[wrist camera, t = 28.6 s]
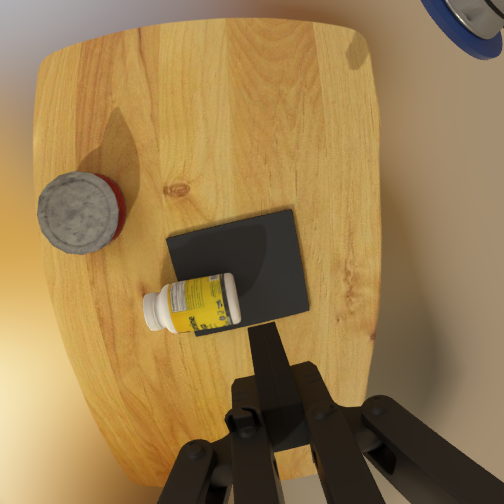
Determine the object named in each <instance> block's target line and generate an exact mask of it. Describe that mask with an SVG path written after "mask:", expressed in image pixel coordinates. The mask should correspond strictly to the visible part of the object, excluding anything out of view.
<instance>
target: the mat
mask: <svg viewBox="0 0 504 504" xmlns="http://www.w3.org/2000/svg"><path fill="white" fill-rule="evenodd" d="M166 241H167V245H168V249H169V252H170V256H171V259H172V263H173V266H174V270H175V273H176V276H177V280H178V282H180V281H185V280H191V279H196V278H202V277H207V276H213V275H218V274H224V273H231V274H232V275H233V278H234V282H235V286H236V291H237V296H238V302H239V307H240V313H241V321H240V322H239V323H237V324H233V325H228V326H222V327H216V328H210V329H203V330H198V331H194V332H195V335H196V337H197V336H202V335H207V334H212V333H217V332H222V331H226V330H231V329H236V328H240V327H245V326H249V325H253V324H258V323H262V322H266V321H270V320H274V319H278V318H283V317H287V316H290V315H294V314H298V313H302V312H306V311H309V303H308V297H307V291H306V285H305V279H304V273H303V267H302V262H301V256H300V250H299V245H298V239H297V234H296V229H295V223H294V218H293V213H292V210H291V209H289V210H284V211H280V212H275V213H271V214H266V215H262V216H257V217H253V218H248V219H244V220H240V221H235V222H231V223H227V224H223V225H218V226H214V227H210V228H206V229H202V230H198V231H193V232H189V233H185V234H181V235H177V236H173V237H169V238H167V239H166Z"/></svg>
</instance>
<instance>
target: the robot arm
mask: <svg viewBox="0 0 504 504" xmlns="http://www.w3.org/2000/svg"><path fill="white" fill-rule="evenodd" d="M442 1H443V3H444V4H445V6H446V7H447V9H448V10H449V12H450V13H451V14H452V16H453V17H454V18H455V19H456V20H457V21H458V23H459V24H460V25H461V26H462V27H463V28H464V29H466V30H467V31H468V32H469V33H470V34H472V35H473V36H475V37H476V38H478V39H481V40H488V39H491V38H493V37H494V36H496V34H497V33H498V32H499V31H500V29H502V27H503V28H504V0H442ZM248 334H249V341H250V347H251V354H252V360H253V367H254V373H255V375H253V376H248V377H243V378H239V379H235V381H234V383H233V384H232V386H231V392H232V409H231V410H229V411H228V413H227V414H226V415H225V419H224V420H225V423H226V425H227V427H228V429H229V432H230V433H229V434H228V435H226V436H225V437H224V438H222V439H220V440H218V441H215V442H212V443H210V442H208V441H207V440H202V439H197V440H192V441H190V442H188V443H186V444H185V445H183V447H182V448H181V450H180V452H179V454H178V456H177V459H176V461H175V463H174V466H173V468H172V470H171V472H170V475H169V477H168V479H167V482H166V484H165V486H164V489H163V491H162V493H161V495H160V498H159V500H158V502H157V504H228V500H229V496H230V492H231V488H232V484H233V489H234V504H285V501H284V496H283V491H282V487H281V482H280V477H279V472H278V467H277V462H276V459H275V456H274V452H279V451H283V450H288V449H292V448H296V447H300V446H304V445H308V444H309V443H310V447H311V452H312V459H313V463H315V466H316V469H317V472H318V475H319V478H320V481H321V485H322V488H323V491H324V494H325V497H326V500H327V504H386V503H385V501H384V499H383V497H382V495H381V493H380V491H379V489H378V486H377V484H376V482H375V480H374V478H373V476H372V474H371V472H370V469H369V467H368V465H367V463H366V461H365V459H364V457H363V455H364V456H365V457H366V458H367V459H368V460H369V461H370V462H371V463H372V464H373V465H374V466H375V468H376V469H377V470H378V471H379V472H380V473H381V474H382V475H383V476H384V477H385V478H386V479H387V480H388V481H389V482H390V483H391V484H392V485H393V486H394V487H395V488H396V489H397V490H398V491H399V492H400V493H401V494H402V495H403V496H404V497H405V498H406V499H407V500H408V501H409V502H410V503H411V504H504V483H503V482H502V481H501V480H499V479H498V478H496V477H495V476H494V475H492V474H491V473H490V472H488V471H487V470H485V469H484V468H483V467H481V466H480V465H478V464H477V463H476V462H474V461H473V460H472V459H470V458H469V457H468V456H466V455H465V454H464V453H462V452H461V451H460V450H458V449H457V448H456V447H454V446H453V445H451V444H450V443H449V442H448V441H446V440H445V439H444V438H442V437H441V436H440V435H438V434H437V433H436V432H434V431H433V430H432V429H431V428H429V427H428V426H427V425H425V424H424V423H423V422H422V421H420V420H419V419H418V418H416V417H415V416H414V415H412V414H411V413H410V412H409V411H407V410H406V409H405V408H403V407H402V406H401V405H400V404H398V403H397V402H396V401H395V400H393V399H392V398H390V397H388V396H384V395H376V396H372V397H370V398H368V399H367V400H366V401H364V403H363V404H362V406H359V407H343V406H340V405H337V404H336V403H335V402H334V401H333V400H332V398H331V396H330V394H329V392H328V389H327V387H326V385H325V383H324V381H323V380H322V377H321V375H320V373H319V371H318V368H317V366H316V365H314V364H313V363H311V362H310V361H307V362H303V363H300V364H296V365H292V366H290V365H289V362H288V359H287V356H286V353H285V350H284V348H283V345H282V342H281V339H280V336H279V333H278V330H277V327H276V324H275V322H271V323H267V324H263V325H258V326H254V327H250V328H248ZM361 452H362V453H361ZM362 454H363V455H362Z"/></svg>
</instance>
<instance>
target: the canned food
mask: <svg viewBox="0 0 504 504" xmlns="http://www.w3.org/2000/svg"><path fill="white" fill-rule="evenodd" d="M37 217H38V220H39V224H40V227H41V231H42V233H43V234H44V235H45V237H46V238H47V239H48V240H49V242H50V243H51V244H52V245H53V246H54V247H56V248H58V249H60V250H62V251H64V252H65V253H68V254H79V255H84V254H87V253H91V252H95V251H98V250H100V249H102V248H103V247H105V246H106V245H109V244H110V243H111V242H113V241H114V240H115V239H116V238H117V237H118V236H119V234H120V232H121V231H122V229H123V226H124V224H125V219H126V203H125V199H124V196H123V193H122V192H121V190H120V188H119V187H118V185H117V184H116V183H115V182H114V181H113V180H111V179H110V178H109V177H106V176H104V175H100V174H92V173H86V172H78V171H74V172H70V173H67V174H63V175H60V176H58V177H57V178H56V179H55V180H53V181H52V182H50V183H49V184H48V185H47V186H46V187H45V189H44V190H43V191H42V193H41V195H40V196H39V201H38V210H37Z"/></svg>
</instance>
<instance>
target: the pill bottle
mask: <svg viewBox="0 0 504 504" xmlns="http://www.w3.org/2000/svg"><path fill="white" fill-rule="evenodd" d="M143 311H144V316H145V320H146V323H147V325H148V327H149V328H150V329H151V330H152V331H156V330H162V329H164V328H165V327H167V328H168V330H169V331H171V332H173V333H185V332H191V331H198V330H203V329H210V328H216V327H222V326H228V325H233V324H237V323H239V322H240V321H241V313H240V307H239V302H238V296H237V291H236V286H235V282H234V278H233V275H232V274H231V273H224V274H218V275H213V276H207V277H202V278H196V279H191V280H185V281H180V282H175V283H170V284H167V285H165V286H164V287H163V288H162V290H161V293H157V292H154V293H148V294H146V295H145V296H144V299H143Z"/></svg>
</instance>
